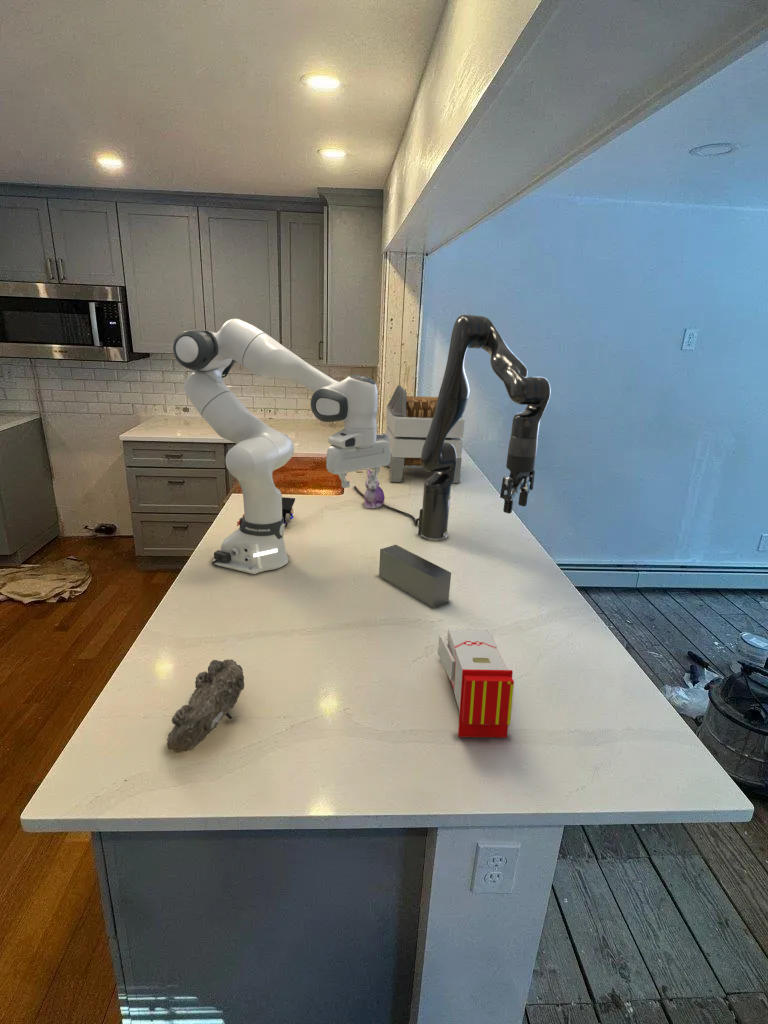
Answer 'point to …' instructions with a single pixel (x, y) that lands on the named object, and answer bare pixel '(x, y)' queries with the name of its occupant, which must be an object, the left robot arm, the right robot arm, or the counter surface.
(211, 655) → the counter surface
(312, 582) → the counter surface
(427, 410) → the grey crate
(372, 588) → the counter surface
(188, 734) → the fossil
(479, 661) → the toy
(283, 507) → the figurine character
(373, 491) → the figurine
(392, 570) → the box
